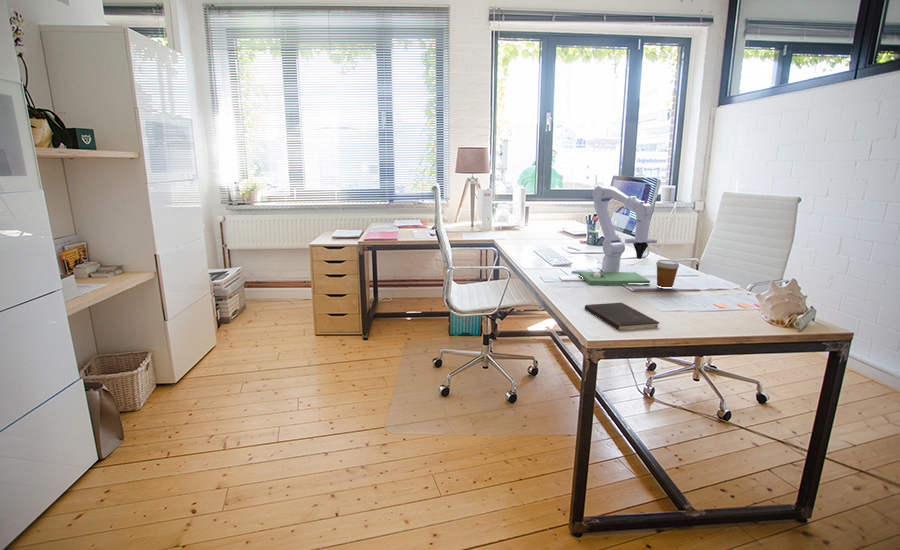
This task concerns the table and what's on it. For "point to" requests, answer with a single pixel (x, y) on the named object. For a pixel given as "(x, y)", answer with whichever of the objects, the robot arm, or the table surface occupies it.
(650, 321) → the hardcover book
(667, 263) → the disposable coffee cup
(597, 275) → the ball
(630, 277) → the putting mat
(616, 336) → the table surface
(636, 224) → the robot arm
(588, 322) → the table surface
